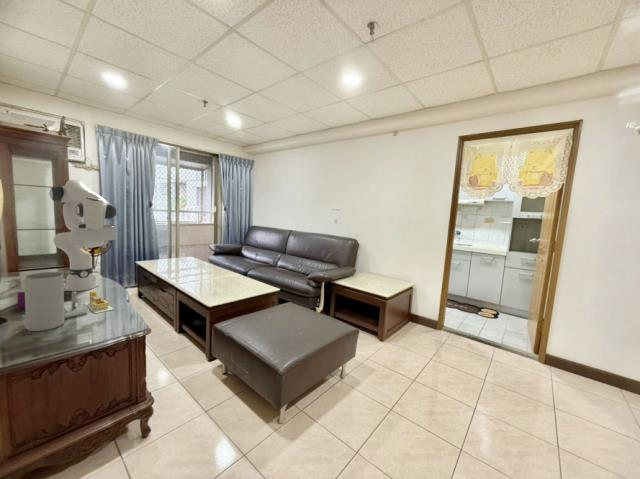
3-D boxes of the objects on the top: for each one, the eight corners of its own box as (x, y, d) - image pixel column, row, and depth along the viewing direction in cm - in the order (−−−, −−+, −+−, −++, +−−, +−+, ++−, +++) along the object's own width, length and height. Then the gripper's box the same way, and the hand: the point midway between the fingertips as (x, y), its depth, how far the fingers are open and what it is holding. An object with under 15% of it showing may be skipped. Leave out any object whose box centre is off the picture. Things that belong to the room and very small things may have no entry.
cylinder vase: (23, 326, 120) (21, 274, 118) (59, 318, 131) (58, 270, 128) (30, 334, 114) (28, 280, 111) (68, 325, 124) (67, 275, 122)
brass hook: (86, 302, 151) (86, 292, 150) (99, 300, 156) (99, 290, 155) (95, 310, 142) (95, 299, 141) (108, 307, 147) (108, 297, 146)
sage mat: (84, 304, 150) (84, 303, 150) (101, 300, 157) (101, 300, 157) (95, 313, 139) (95, 312, 139) (113, 309, 146) (113, 309, 146)
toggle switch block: (55, 308, 141) (55, 287, 140) (77, 304, 148) (77, 284, 147) (64, 318, 131) (64, 295, 130) (87, 313, 139) (87, 292, 137)
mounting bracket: (20, 312, 146) (17, 308, 134) (20, 298, 147) (17, 292, 135) (44, 309, 152) (44, 304, 141) (44, 295, 154) (43, 289, 142)
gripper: (113, 224, 160) (113, 246, 162) (68, 224, 143) (69, 248, 145) (117, 225, 157) (117, 247, 158) (72, 225, 140) (72, 250, 141)
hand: (93, 248), depth 151 cm, fingers open, 8 cm apart
